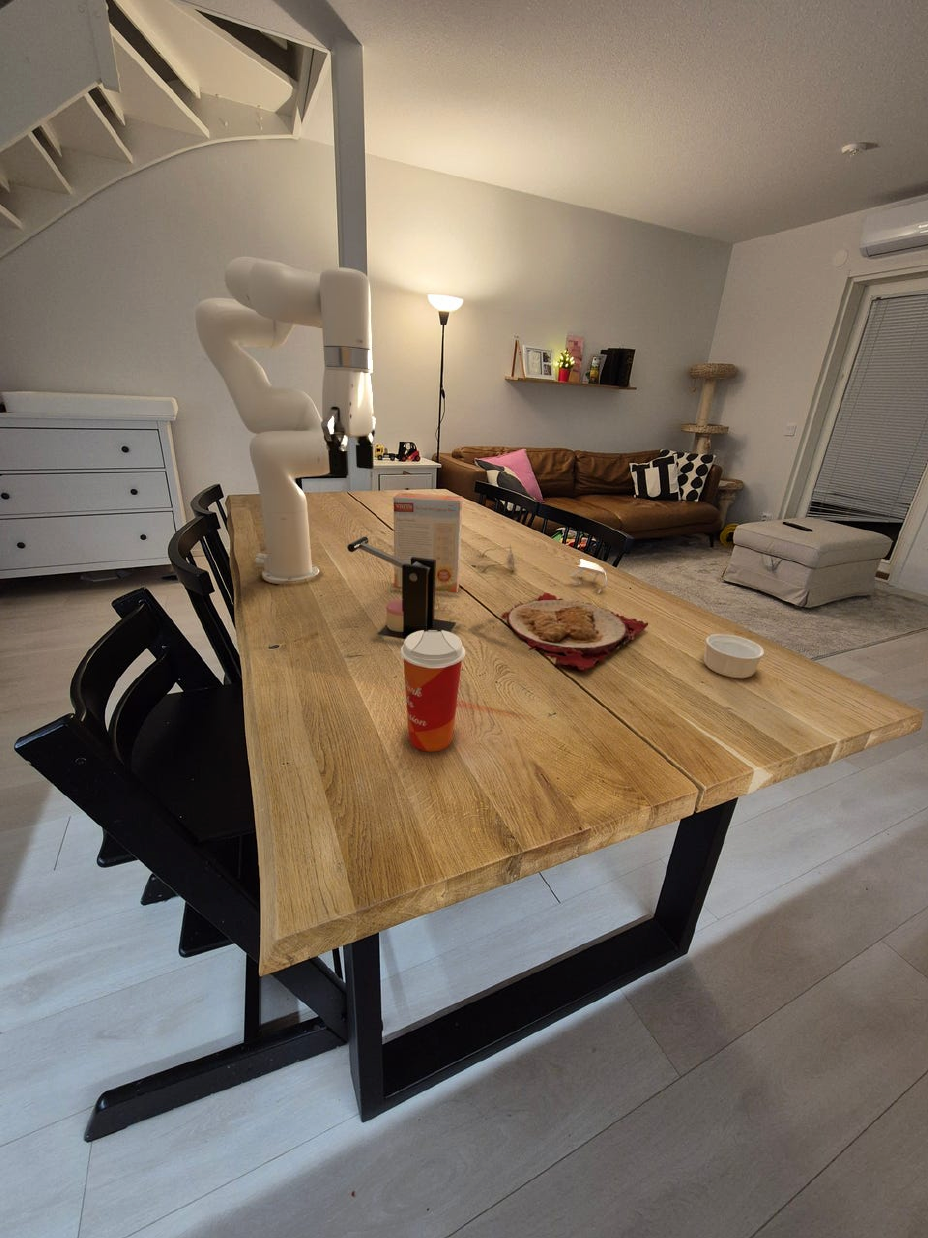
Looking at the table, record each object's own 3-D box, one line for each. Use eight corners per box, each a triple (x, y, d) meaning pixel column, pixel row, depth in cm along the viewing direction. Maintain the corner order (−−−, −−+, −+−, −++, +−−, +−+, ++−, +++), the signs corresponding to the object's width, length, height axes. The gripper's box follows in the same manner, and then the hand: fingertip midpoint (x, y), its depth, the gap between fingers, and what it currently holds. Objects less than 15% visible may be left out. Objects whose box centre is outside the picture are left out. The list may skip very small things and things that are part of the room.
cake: (381, 629, 91) (381, 608, 89) (393, 617, 95) (393, 597, 94) (410, 634, 89) (411, 613, 88) (421, 621, 94) (421, 602, 93)
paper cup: (401, 720, 68) (401, 627, 62) (458, 719, 69) (463, 627, 63) (399, 758, 61) (399, 657, 55) (462, 757, 62) (468, 658, 56)
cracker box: (459, 587, 115) (464, 495, 107) (456, 596, 110) (461, 500, 101) (399, 582, 116) (399, 490, 108) (393, 591, 111) (392, 495, 102)
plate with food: (647, 632, 98) (651, 615, 97) (583, 676, 80) (586, 657, 79) (545, 599, 112) (547, 584, 111) (471, 630, 94) (472, 613, 93)
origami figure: (558, 581, 122) (560, 562, 120) (581, 575, 127) (584, 557, 125) (597, 597, 113) (600, 577, 111) (620, 591, 118) (624, 571, 116)
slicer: (376, 640, 89) (375, 566, 83) (398, 618, 98) (398, 550, 92) (441, 651, 86) (443, 575, 81) (457, 628, 95) (460, 558, 90)
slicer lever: (345, 552, 86) (348, 540, 85) (360, 544, 91) (363, 532, 90) (418, 586, 85) (423, 574, 84) (429, 576, 90) (433, 564, 89)
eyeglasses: (514, 574, 125) (514, 559, 124) (482, 575, 126) (482, 559, 124) (510, 557, 138) (510, 543, 136) (481, 558, 138) (481, 544, 137)
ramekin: (734, 685, 81) (741, 662, 79) (689, 660, 88) (695, 638, 86) (768, 674, 85) (776, 652, 83) (722, 651, 92) (728, 630, 90)
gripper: (351, 364, 89) (355, 464, 96) (297, 356, 74) (306, 476, 81) (391, 366, 87) (392, 467, 94) (343, 358, 72) (349, 480, 79)
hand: (352, 471), depth 88 cm, fingers open, 9 cm apart
